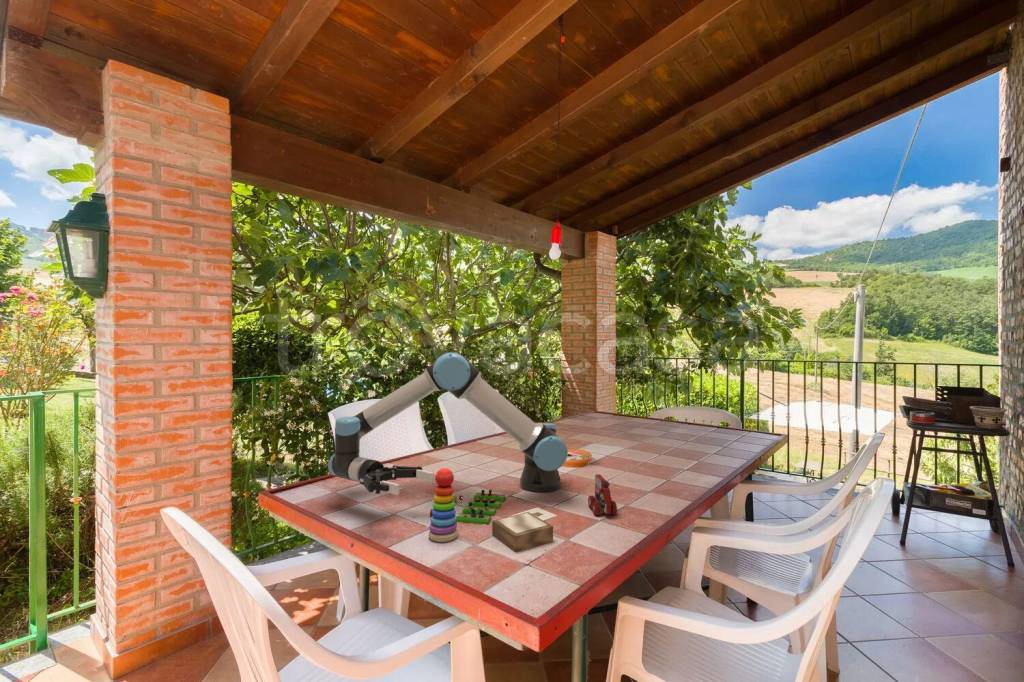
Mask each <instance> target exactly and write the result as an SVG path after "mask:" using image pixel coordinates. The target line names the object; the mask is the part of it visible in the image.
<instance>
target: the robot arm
mask: <svg viewBox="0 0 1024 682" xmlns="http://www.w3.org/2000/svg"><path fill="white" fill-rule="evenodd" d="M442 390H445V391H446V390H447V392H449V393H450V394H452V395H453V396H454V397H456V398H457V400H461V399H464V400H466V401H468V402H469V403H470V404H471V405H472V406H473V407H475V408H476V409H477V410H478V411H479V412H480V413H482V414H483V415H485V417H487V418H488V419H489V420H490V421H492V422H493V423H494V424H495V425H496V426H498V427H499V428H500V429H501V430H502V431H504V432H505V433H506V434H508V435H509V436H510V437H511V438H512V439H514V440H515V441H516V442H517V443H518V445H519V450H520V451H521V452H522V453H524V466H523V469H522V473H521V475H520V478H519V487H520V488H521V489H523V490H525V491H529V492H535V493H536V492H537V493H547V492H549V493H550V492H555V491H557V490H559V489H560V488H561V487H562V479H561V475H560V474H559V473H560V472H559V470H560V468H562V466H564V465H565V462H566V461H567V458H568V455H569V454H568V453H569V452H568V447H567V444H566V441H564V440H563V439H562V438H561V437H560V436H558V434H557V430H558V429H557V425H556V424H555V423H550V422H549V423H548V422H545V423H544V422H535V421H533V420H532V419H531V418H530V417H528V415H526V414H524V413H523V412H522V411H521V410H520V409H519V408H517V407H516V406H515V405H514V404H513V403H512V402H511V401H509V399H507V398H505V396H504V395H502V394H501V393H499V392H498V391H497V390H496V389H495V388H493V386H491V385H490V384H488V383H487V381H485V380H484V379H483V378H482V372H481V370H479V369H478V368H477V367H475V366H474V365H473V364H472V363H471V362H470V361H468V360H467V359H466V357H464V356H463V355H461V354H460V353H458V352H456V351H448V352H445V353H443V354H442V355H440V356H439V357H438V358H437V359H436V360H435V361H434V362H433V363H432V364H430V365H429V366H427V367H426V368H424V372H423V373H421V374H420V375H418V376H416V377H414V378H413V379H412V380H410V381H408V382H407V383H405V384H404V385H402V386H401V387H398V388H397V389H396V390H394V391H392V392H391V393H389V394H388V395H386V396H384V397H383V398H381V399H379V400H378V401H376V402H375V403H374V404H371V405H370V406H368V407H366V408H365V409H363V410H362V411H361V412H359V413H357V414H355V415H353V416H342V417H339V418H337V419H336V420H335V424H334V454H333V455H332V456H331V457H330V458H329V461H328V462H327V469H328V472H329V473H330V474H331V475H332V476H335V477H338V478H339V479H345V480H349V481H353V482H356V483H358V484H360V485H363V486H364V487H365V489H366V490H367V491H368V493H373V492H374V491H375V494H377V495H379V494H381V492H384V493H387V494H392V495H394V496H399V495H400V484H398V483H396V482H395V483H394V482H390V481H396V480H397V479H408V478H409V479H410V478H411V479H412V478H415V479H416V480H420V481H424V482H429V483H434V480H435V476H434V475H435V474H434V472H431V471H427V470H423V466H419V465H418V466H404V465H403V466H402V465H396V464H394V465H392V467H388V466H384V465H383V463H382V461H379V460H375V459H371V458H368V457H363V456H362V457H361V456H360V451H361V450H360V449H361V448H360V445H361V444H360V441H361V439H362V438H363V437H364V436H365V435H367V434H369V433H370V432H372V431H373V430H375V429H377V428H378V427H380V426H381V425H383V424H385V422H388V421H389V420H390V419H392V418H394V417H395V416H398V415H399V414H400V413H402V412H403V411H405V410H407V409H408V408H410V407H412V406H413V405H414V404H417V403H418V402H419V401H421V400H422V399H424V398H426V397H427V396H429V395H431V394H433V393H434V392H435V391H437V392H441V391H442ZM393 475H394V476H393Z"/></svg>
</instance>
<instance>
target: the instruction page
mask: <svg viewBox="0 0 1024 682" xmlns="http://www.w3.org/2000/svg"><path fill="white" fill-rule="evenodd" d="M526 512H529V513H531V514H533V515H534V516H536V517H538V518H539V519H541V520H543V521H545V522H546V521H548V520H550V519H553V518H555V517H558V515H557V514H554V513H552V512H550V511H547V510H545V509H542V508H541V507H534V508H532V509H527V510H524V511H522V512H518V513H516V514H515V513H514V514H512V515H508V516H507V517H510V516H514V515H518V514H522V513H526Z"/></svg>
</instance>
